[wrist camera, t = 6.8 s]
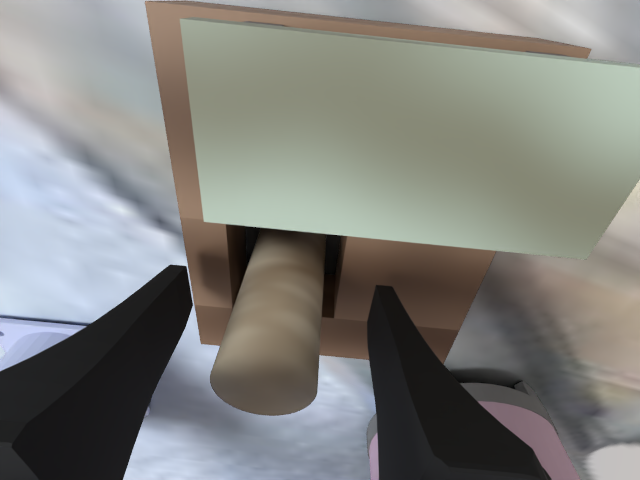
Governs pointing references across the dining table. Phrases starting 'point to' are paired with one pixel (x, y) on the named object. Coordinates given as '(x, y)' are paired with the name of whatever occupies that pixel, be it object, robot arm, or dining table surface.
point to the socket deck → (385, 154)
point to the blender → (509, 427)
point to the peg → (274, 327)
